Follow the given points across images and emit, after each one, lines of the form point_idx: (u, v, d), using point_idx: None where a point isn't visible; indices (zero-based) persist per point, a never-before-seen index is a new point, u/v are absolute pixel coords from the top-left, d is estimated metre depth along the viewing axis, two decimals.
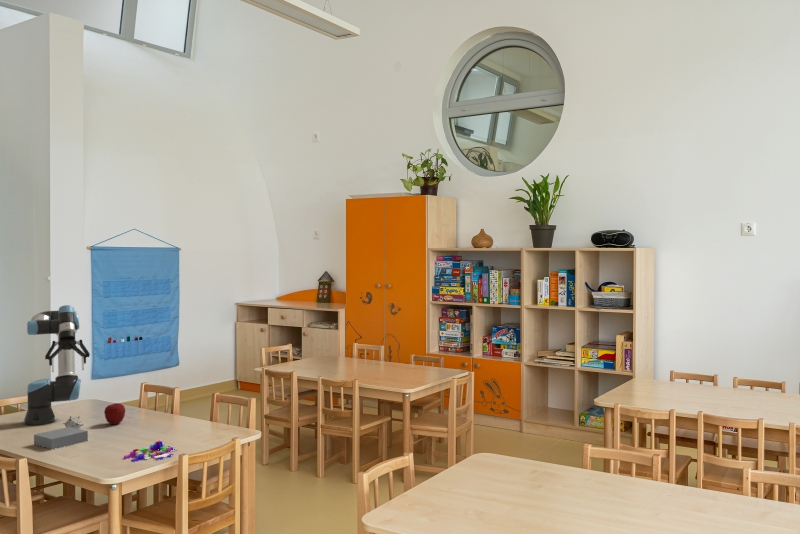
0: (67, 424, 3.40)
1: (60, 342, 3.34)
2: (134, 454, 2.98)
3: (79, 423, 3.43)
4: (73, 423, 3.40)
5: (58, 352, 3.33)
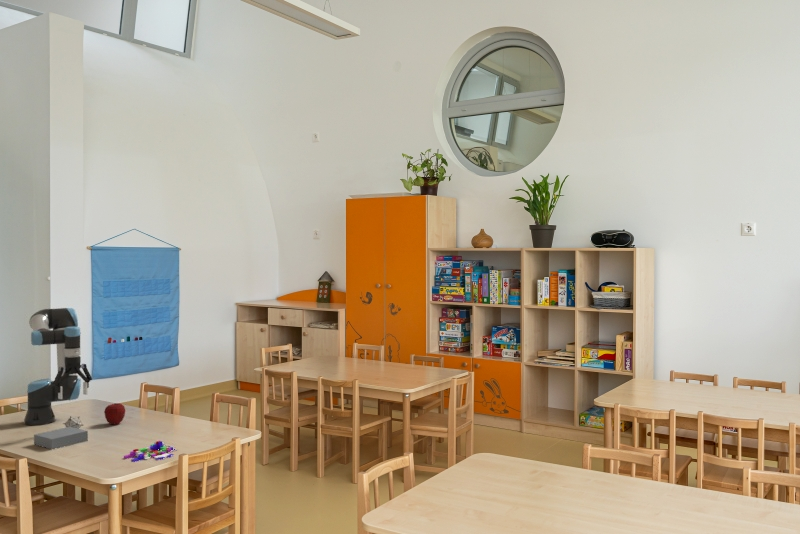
0: (67, 424, 3.40)
1: (67, 368, 3.39)
2: (134, 454, 2.98)
3: (79, 423, 3.43)
4: (73, 423, 3.40)
5: None
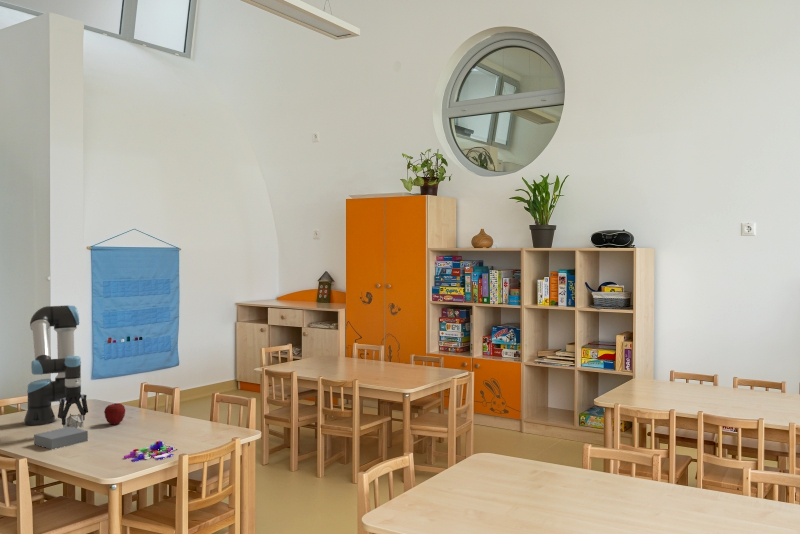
0: (67, 422, 3.40)
1: (68, 398, 3.40)
2: (134, 454, 2.98)
3: (79, 421, 3.43)
4: (73, 421, 3.40)
5: None
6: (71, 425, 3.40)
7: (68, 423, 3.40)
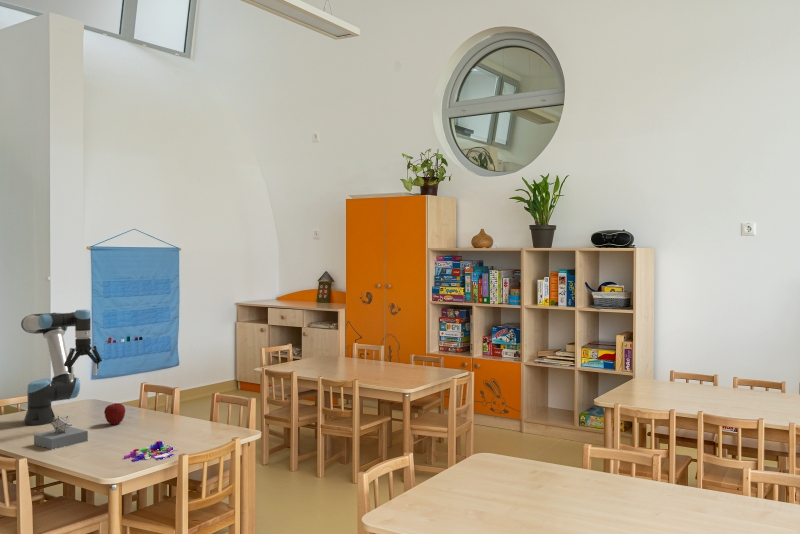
0: (55, 424, 3.20)
1: (78, 349, 3.52)
2: (134, 454, 2.98)
3: (68, 423, 3.22)
4: (61, 423, 3.20)
5: None
6: (59, 428, 3.19)
7: (56, 426, 3.19)
